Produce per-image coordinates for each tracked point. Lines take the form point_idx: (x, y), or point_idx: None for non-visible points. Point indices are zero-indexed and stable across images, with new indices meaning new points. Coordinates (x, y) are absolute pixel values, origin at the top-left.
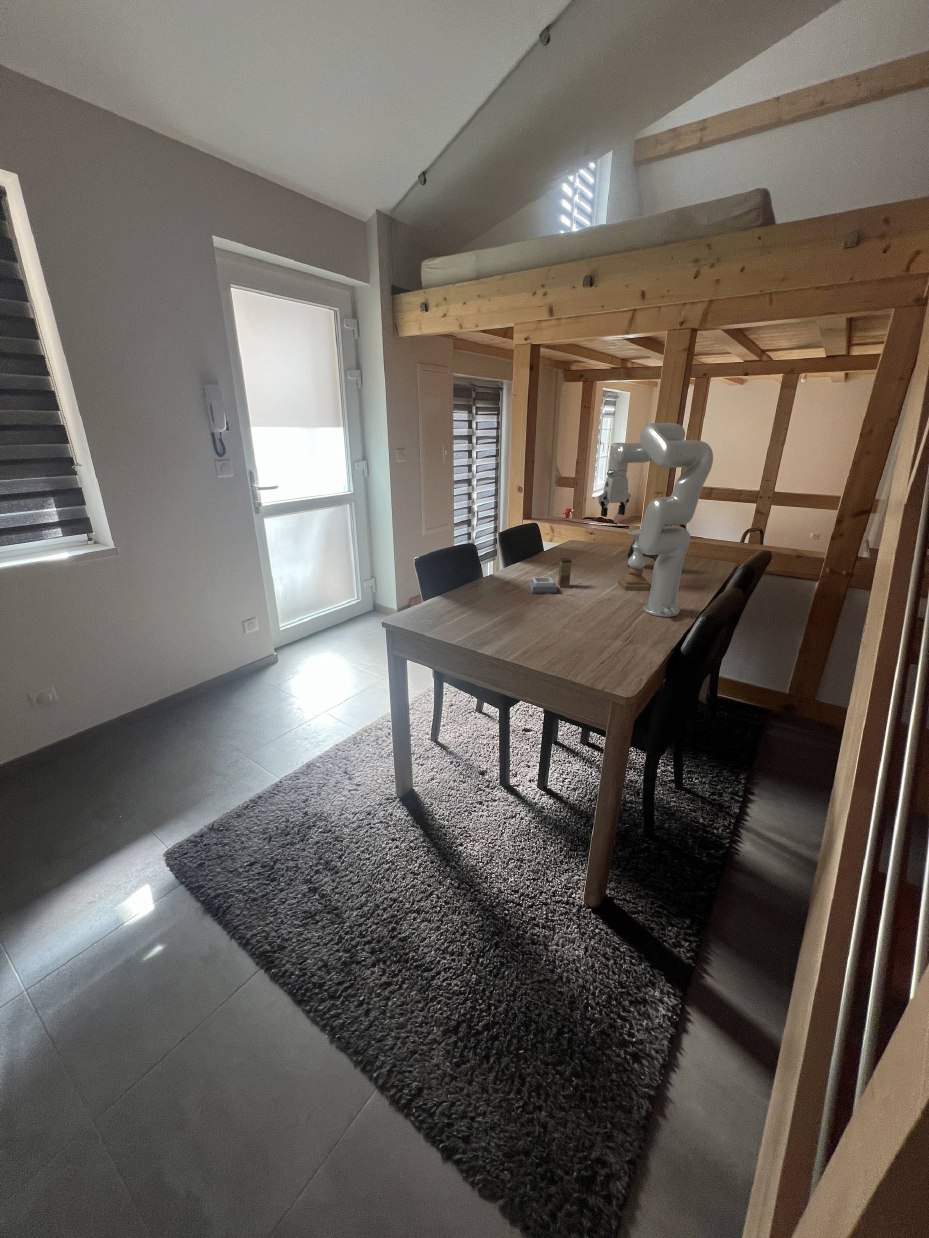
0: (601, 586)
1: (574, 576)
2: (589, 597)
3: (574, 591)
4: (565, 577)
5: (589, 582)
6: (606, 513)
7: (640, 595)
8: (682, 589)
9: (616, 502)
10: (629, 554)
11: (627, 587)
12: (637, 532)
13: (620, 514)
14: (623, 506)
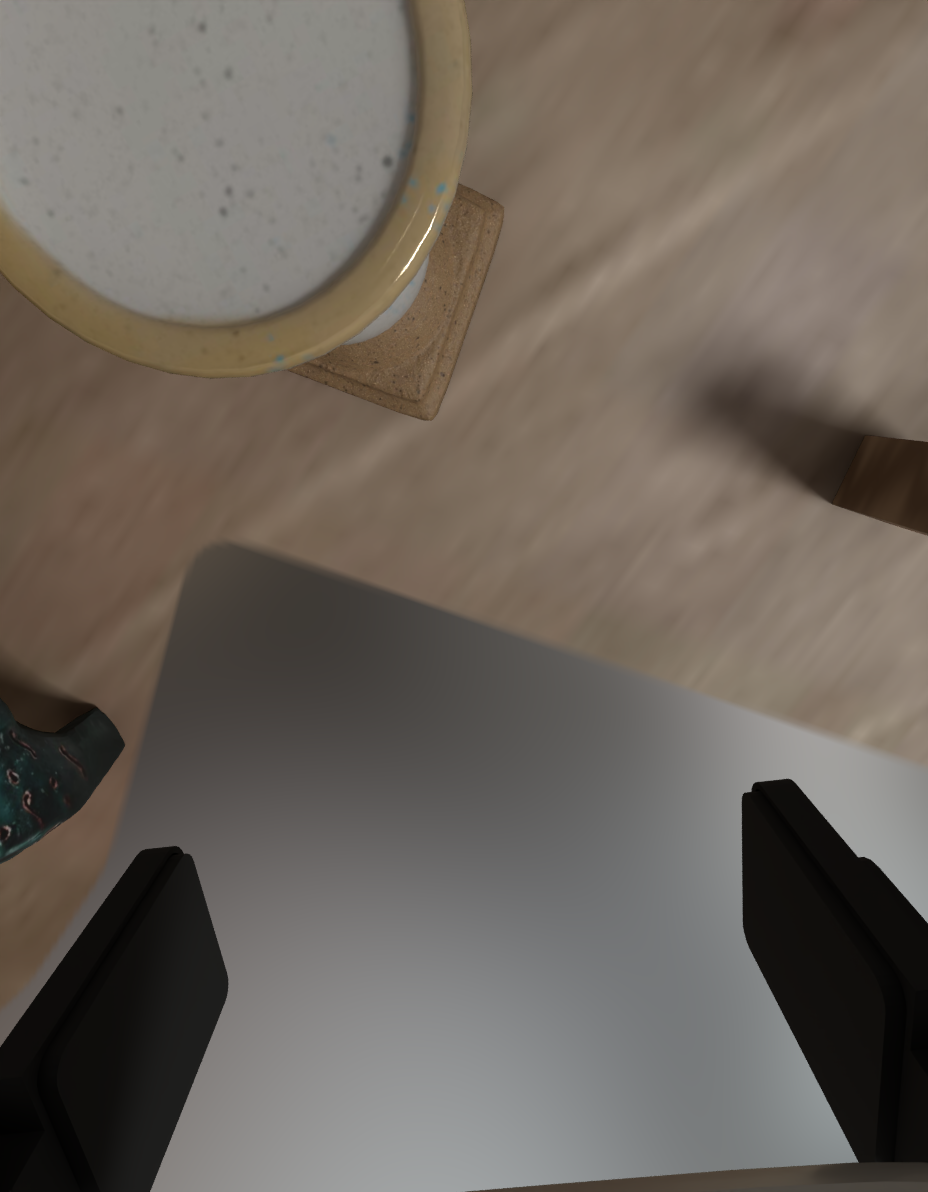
0: (615, 376)
1: (649, 664)
2: (890, 145)
3: (892, 334)
4: None
5: (638, 499)
6: (824, 832)
7: None
8: None
9: (571, 1188)
10: (74, 794)
11: (485, 198)
12: (273, 92)
13: (209, 921)
14: (65, 1078)
